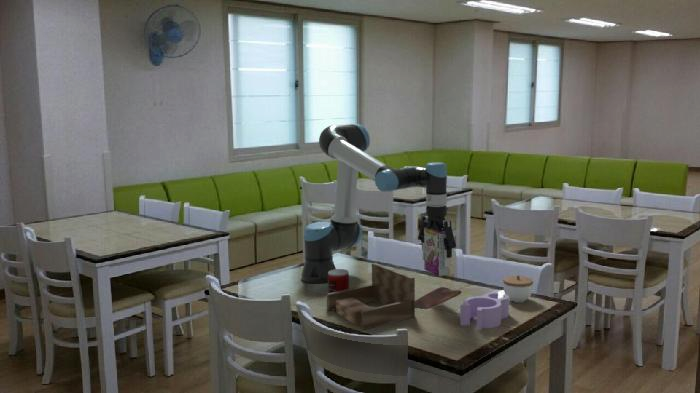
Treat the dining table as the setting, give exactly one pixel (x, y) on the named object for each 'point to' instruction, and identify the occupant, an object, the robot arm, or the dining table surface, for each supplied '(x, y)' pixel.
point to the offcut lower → (354, 321)
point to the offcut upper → (351, 307)
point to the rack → (381, 297)
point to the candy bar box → (434, 252)
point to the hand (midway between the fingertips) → (436, 262)
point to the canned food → (338, 280)
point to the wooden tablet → (435, 297)
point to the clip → (485, 310)
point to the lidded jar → (518, 288)
